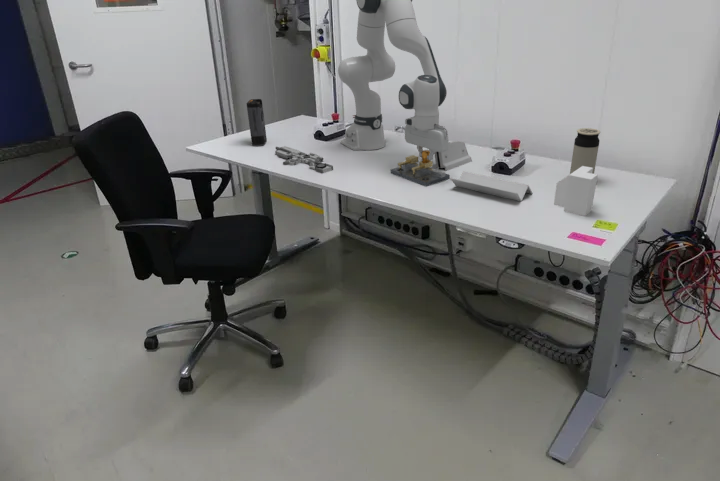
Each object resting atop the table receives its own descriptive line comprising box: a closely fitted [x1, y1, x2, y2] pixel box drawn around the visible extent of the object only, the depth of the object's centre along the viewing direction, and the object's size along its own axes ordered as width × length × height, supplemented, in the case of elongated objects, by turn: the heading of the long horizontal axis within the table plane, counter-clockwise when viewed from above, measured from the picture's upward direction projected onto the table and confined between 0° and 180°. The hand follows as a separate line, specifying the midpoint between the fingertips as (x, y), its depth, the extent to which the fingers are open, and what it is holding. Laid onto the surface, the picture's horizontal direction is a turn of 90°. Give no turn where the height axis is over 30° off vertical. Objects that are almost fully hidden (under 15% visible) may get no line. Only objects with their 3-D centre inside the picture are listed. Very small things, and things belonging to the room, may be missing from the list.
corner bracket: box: [553, 166, 599, 217], centre depth 165 cm, size 11×11×12 cm
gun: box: [274, 145, 334, 174], centre depth 221 cm, size 41×3×15 cm
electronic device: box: [246, 98, 268, 147], centre depth 243 cm, size 9×6×20 cm, turn 179°
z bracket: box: [449, 170, 533, 202], centre depth 181 cm, size 12×25×6 cm
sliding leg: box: [412, 149, 433, 174], centre depth 196 cm, size 3×8×8 cm, turn 127°
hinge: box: [434, 140, 473, 172], centre depth 208 cm, size 17×5×10 cm, turn 131°
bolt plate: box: [389, 154, 451, 187], centre depth 198 cm, size 20×12×5 cm, turn 37°
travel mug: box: [569, 127, 601, 175], centre depth 184 cm, size 8×8×18 cm
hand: (425, 158), depth 197 cm, fingers closed on sliding leg, 3 cm apart
